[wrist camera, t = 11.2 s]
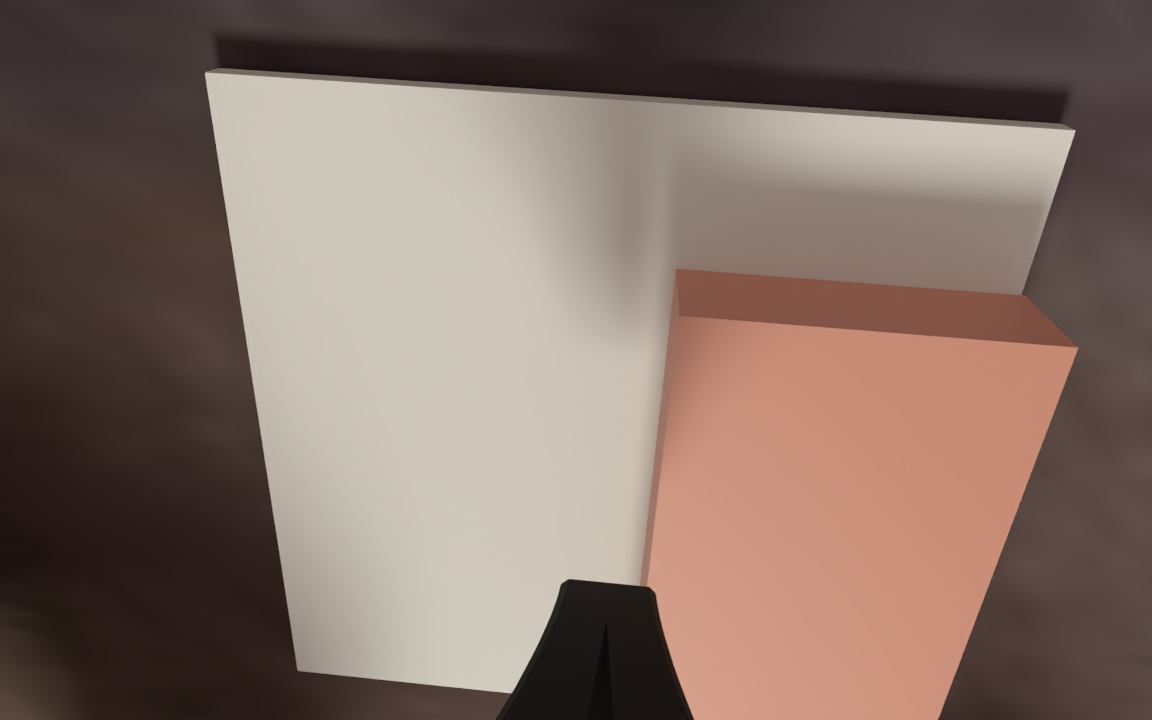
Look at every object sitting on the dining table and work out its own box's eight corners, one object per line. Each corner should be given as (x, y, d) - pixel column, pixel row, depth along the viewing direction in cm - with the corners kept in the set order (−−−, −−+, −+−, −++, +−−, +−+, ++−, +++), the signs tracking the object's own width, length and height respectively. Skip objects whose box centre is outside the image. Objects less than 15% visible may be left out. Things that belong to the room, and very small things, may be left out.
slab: (634, 638, 19) (902, 666, 18) (631, 713, 17) (928, 744, 17) (676, 268, 14) (1025, 296, 14) (679, 315, 13) (1077, 348, 12)
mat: (872, 713, 20) (877, 731, 19) (305, 654, 21) (297, 671, 20) (1061, 124, 13) (1075, 130, 13) (219, 67, 14) (205, 72, 14)
